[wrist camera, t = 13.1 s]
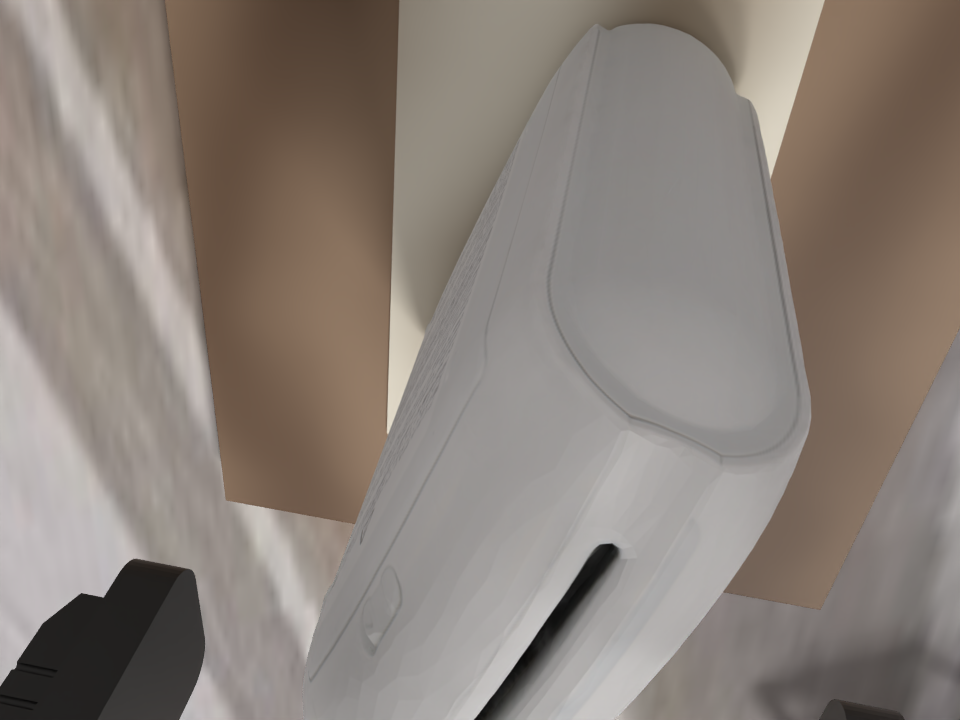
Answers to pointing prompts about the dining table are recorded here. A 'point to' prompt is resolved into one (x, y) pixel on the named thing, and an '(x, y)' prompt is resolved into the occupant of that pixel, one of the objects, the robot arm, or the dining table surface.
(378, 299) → the walnut dock
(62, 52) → the dining table surface
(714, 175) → the photo printer
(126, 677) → the robot arm
